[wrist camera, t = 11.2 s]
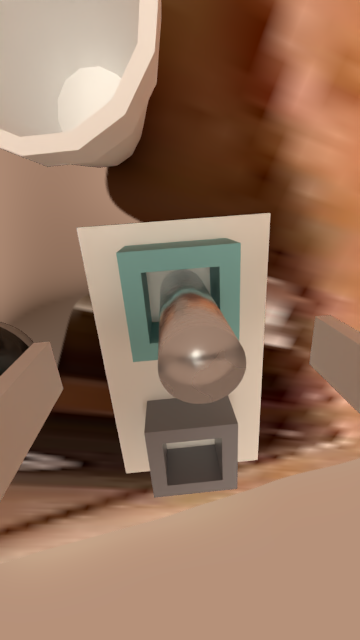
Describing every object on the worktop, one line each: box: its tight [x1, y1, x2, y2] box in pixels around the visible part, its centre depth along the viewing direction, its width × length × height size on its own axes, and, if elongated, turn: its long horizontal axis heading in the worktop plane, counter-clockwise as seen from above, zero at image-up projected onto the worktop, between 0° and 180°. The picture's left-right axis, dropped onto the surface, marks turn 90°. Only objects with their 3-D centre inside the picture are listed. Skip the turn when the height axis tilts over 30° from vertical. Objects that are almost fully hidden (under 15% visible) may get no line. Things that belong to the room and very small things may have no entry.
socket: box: [116, 238, 241, 362], centre depth 22 cm, size 9×9×4 cm
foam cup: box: [0, 0, 161, 167], centre depth 14 cm, size 10×9×13 cm
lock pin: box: [158, 269, 246, 404], centre depth 18 cm, size 4×4×13 cm
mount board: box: [76, 213, 270, 497], centre depth 26 cm, size 16×28×6 cm, turn 4°
